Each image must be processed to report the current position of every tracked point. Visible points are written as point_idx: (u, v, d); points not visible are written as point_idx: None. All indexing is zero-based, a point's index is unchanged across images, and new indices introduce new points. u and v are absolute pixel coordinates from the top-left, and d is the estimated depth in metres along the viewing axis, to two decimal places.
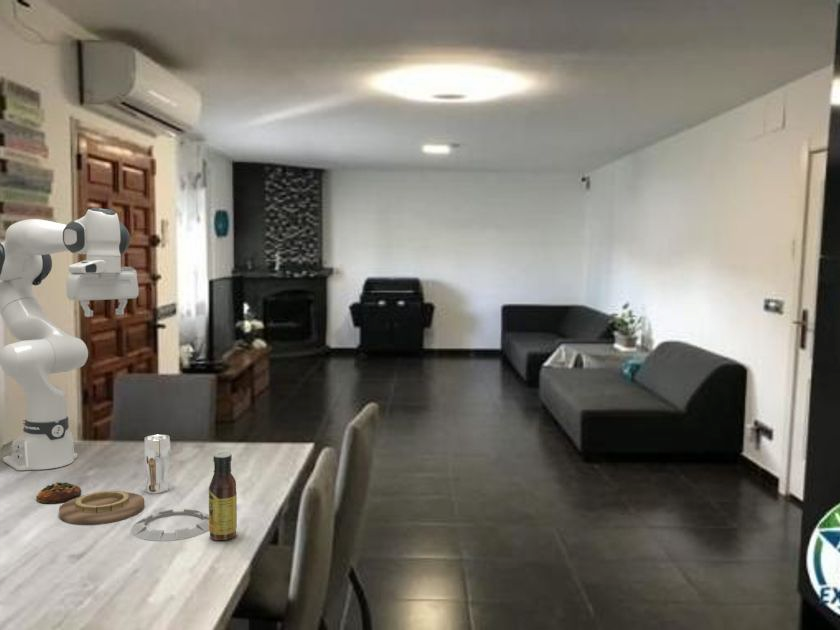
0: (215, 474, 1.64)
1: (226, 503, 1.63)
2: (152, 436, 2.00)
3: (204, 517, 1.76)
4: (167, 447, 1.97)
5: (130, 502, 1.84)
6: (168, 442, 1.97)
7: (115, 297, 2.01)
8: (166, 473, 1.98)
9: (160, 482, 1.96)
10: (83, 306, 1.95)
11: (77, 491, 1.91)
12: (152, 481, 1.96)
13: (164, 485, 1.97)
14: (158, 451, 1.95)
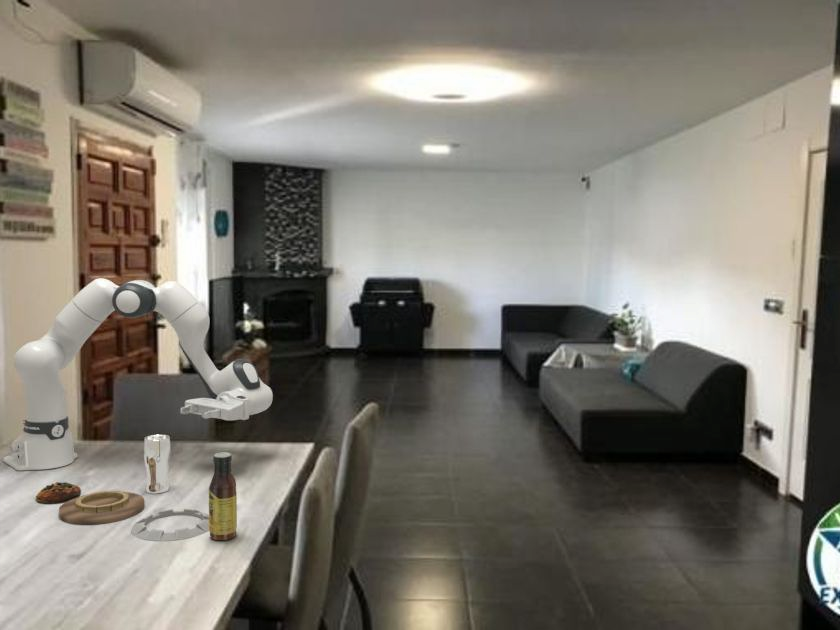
0: (215, 474, 1.64)
1: (226, 503, 1.63)
2: (152, 436, 2.00)
3: (204, 517, 1.76)
4: (167, 447, 1.97)
5: (130, 502, 1.84)
6: (168, 442, 1.97)
7: None
8: (166, 473, 1.98)
9: (160, 482, 1.96)
10: (215, 414, 2.06)
11: (77, 491, 1.91)
12: (152, 481, 1.96)
13: (164, 485, 1.97)
14: (158, 451, 1.95)
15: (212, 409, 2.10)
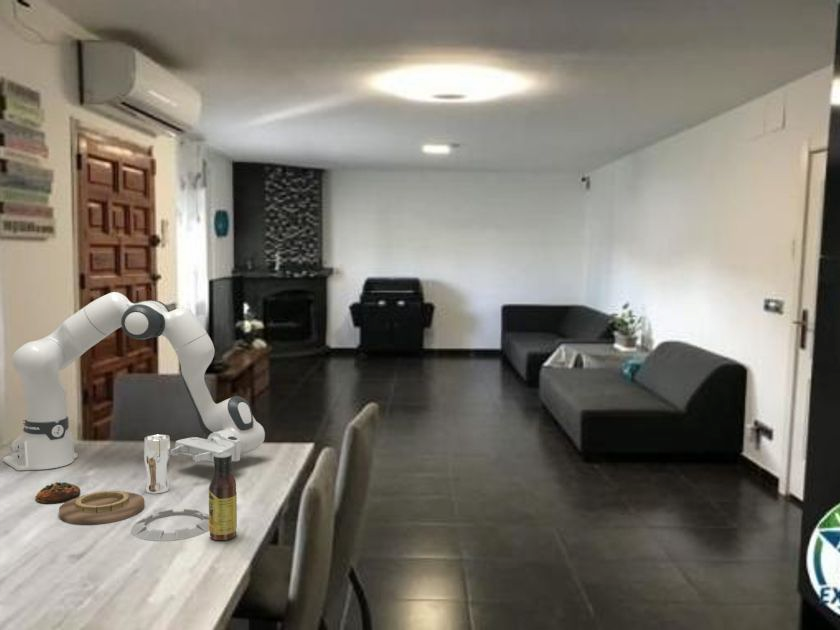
0: (215, 474, 1.64)
1: (226, 503, 1.63)
2: (152, 436, 2.00)
3: (204, 517, 1.76)
4: (167, 447, 1.97)
5: (130, 502, 1.84)
6: (168, 442, 1.97)
7: (192, 456, 2.11)
8: (166, 473, 1.98)
9: (160, 482, 1.96)
10: (205, 456, 2.05)
11: (76, 491, 1.91)
12: (152, 481, 1.96)
13: (164, 485, 1.97)
14: (158, 451, 1.95)
15: (203, 451, 2.09)
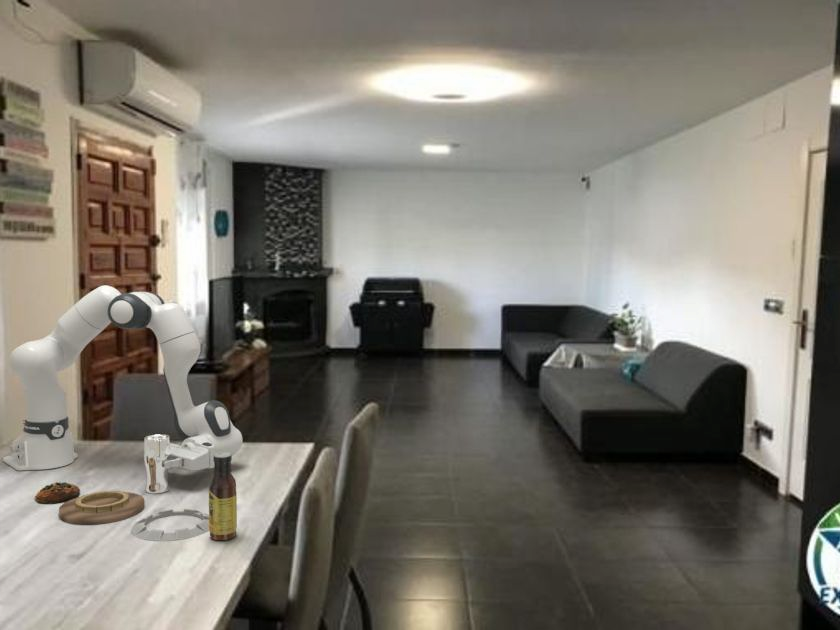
0: (215, 474, 1.64)
1: (226, 503, 1.63)
2: (152, 436, 2.00)
3: (204, 517, 1.76)
4: (167, 447, 1.97)
5: (130, 502, 1.84)
6: (168, 442, 1.97)
7: None
8: (166, 473, 1.98)
9: (160, 482, 1.96)
10: (176, 463, 1.97)
11: (76, 491, 1.91)
12: (152, 481, 1.96)
13: (164, 485, 1.97)
14: (158, 451, 1.95)
15: (176, 458, 2.01)
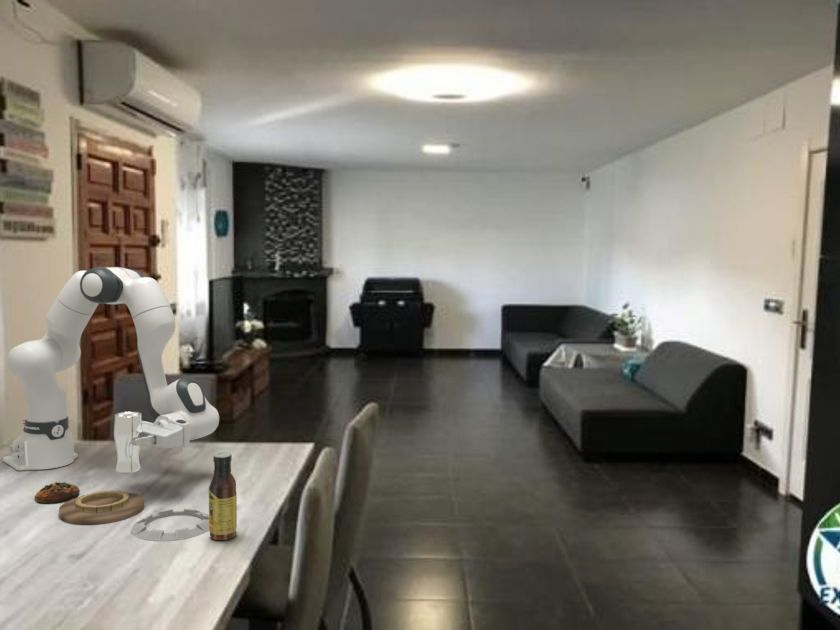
0: (215, 474, 1.64)
1: (226, 503, 1.63)
2: (123, 413, 1.90)
3: (204, 517, 1.76)
4: (139, 425, 1.87)
5: (130, 502, 1.84)
6: (140, 419, 1.88)
7: None
8: (137, 452, 1.88)
9: (130, 461, 1.87)
10: (147, 440, 1.87)
11: (75, 491, 1.91)
12: (122, 460, 1.86)
13: (135, 465, 1.88)
14: (129, 428, 1.85)
15: (148, 435, 1.91)
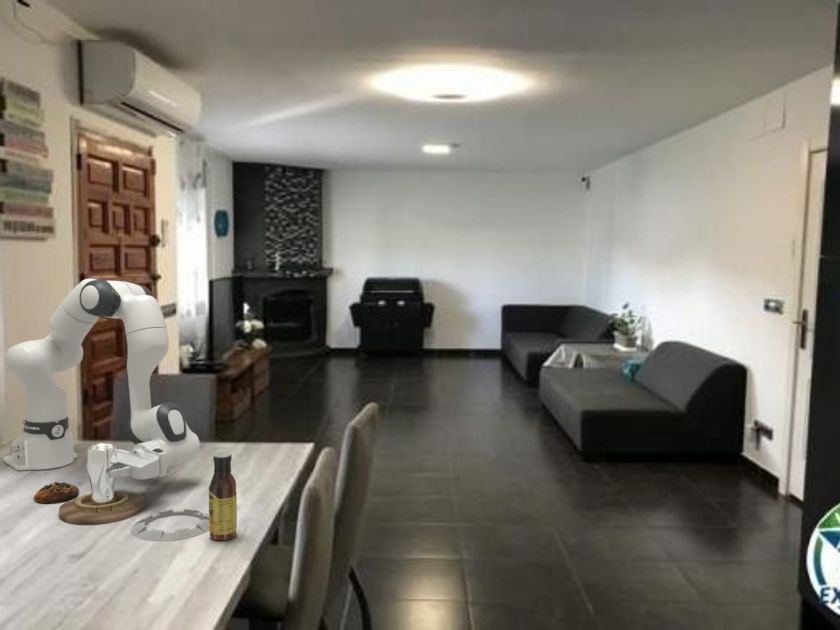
0: (215, 474, 1.64)
1: (226, 503, 1.63)
2: (97, 445, 1.84)
3: (204, 517, 1.76)
4: (113, 457, 1.80)
5: (130, 502, 1.84)
6: (114, 452, 1.81)
7: None
8: (112, 486, 1.82)
9: (105, 495, 1.80)
10: (123, 472, 1.80)
11: (75, 491, 1.92)
12: (96, 494, 1.80)
13: (110, 499, 1.81)
14: (102, 462, 1.79)
15: (123, 465, 1.84)
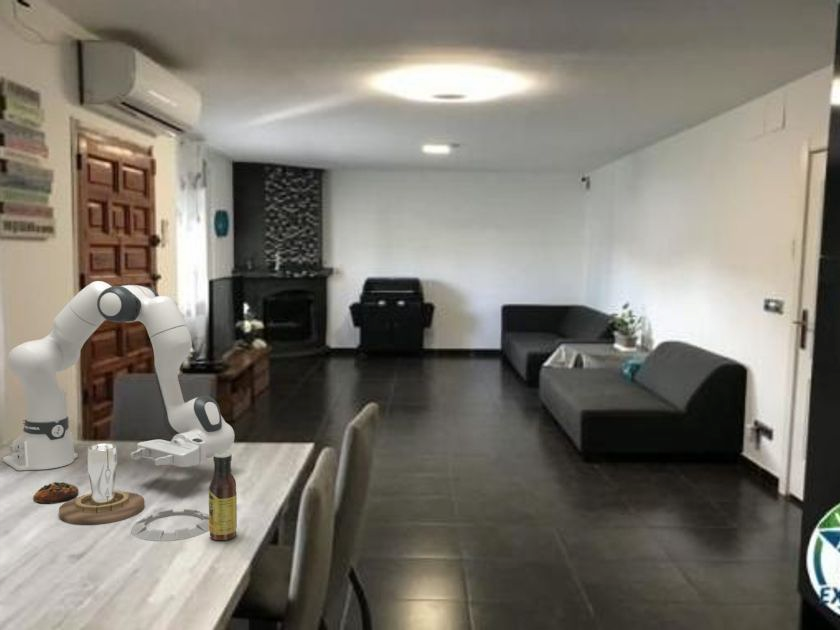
0: (215, 474, 1.64)
1: (226, 503, 1.63)
2: (97, 445, 1.84)
3: (204, 517, 1.76)
4: (113, 457, 1.81)
5: (130, 502, 1.84)
6: (114, 452, 1.81)
7: None
8: (112, 486, 1.82)
9: (105, 495, 1.80)
10: (167, 460, 1.91)
11: (74, 491, 1.92)
12: (96, 494, 1.80)
13: (110, 499, 1.81)
14: (102, 462, 1.79)
15: (165, 454, 1.95)
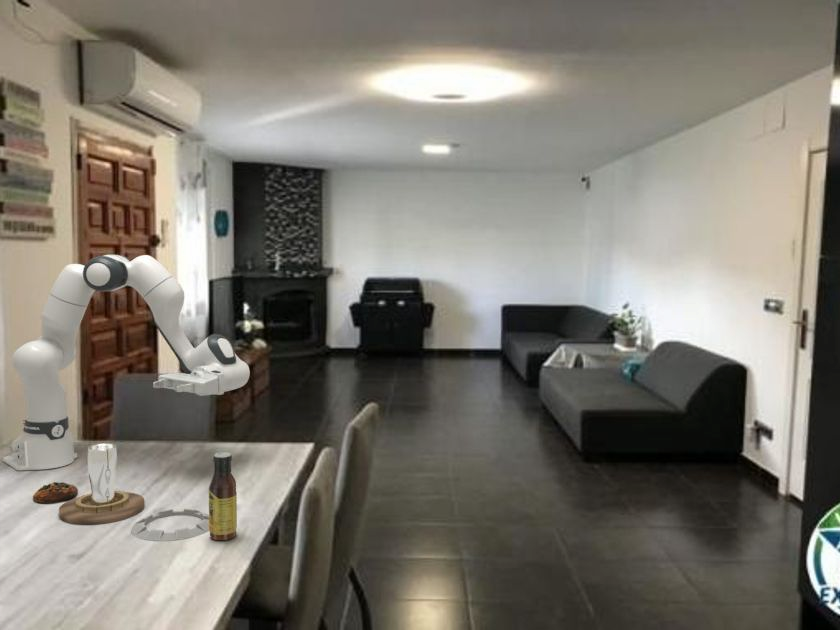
0: (215, 474, 1.64)
1: (226, 503, 1.63)
2: (97, 445, 1.84)
3: (204, 517, 1.76)
4: (113, 457, 1.81)
5: (130, 502, 1.84)
6: (114, 452, 1.81)
7: (175, 389, 2.08)
8: (112, 486, 1.82)
9: (105, 495, 1.80)
10: (188, 387, 2.01)
11: (73, 491, 1.92)
12: (96, 494, 1.80)
13: (110, 499, 1.81)
14: (102, 462, 1.79)
15: (186, 383, 2.06)
